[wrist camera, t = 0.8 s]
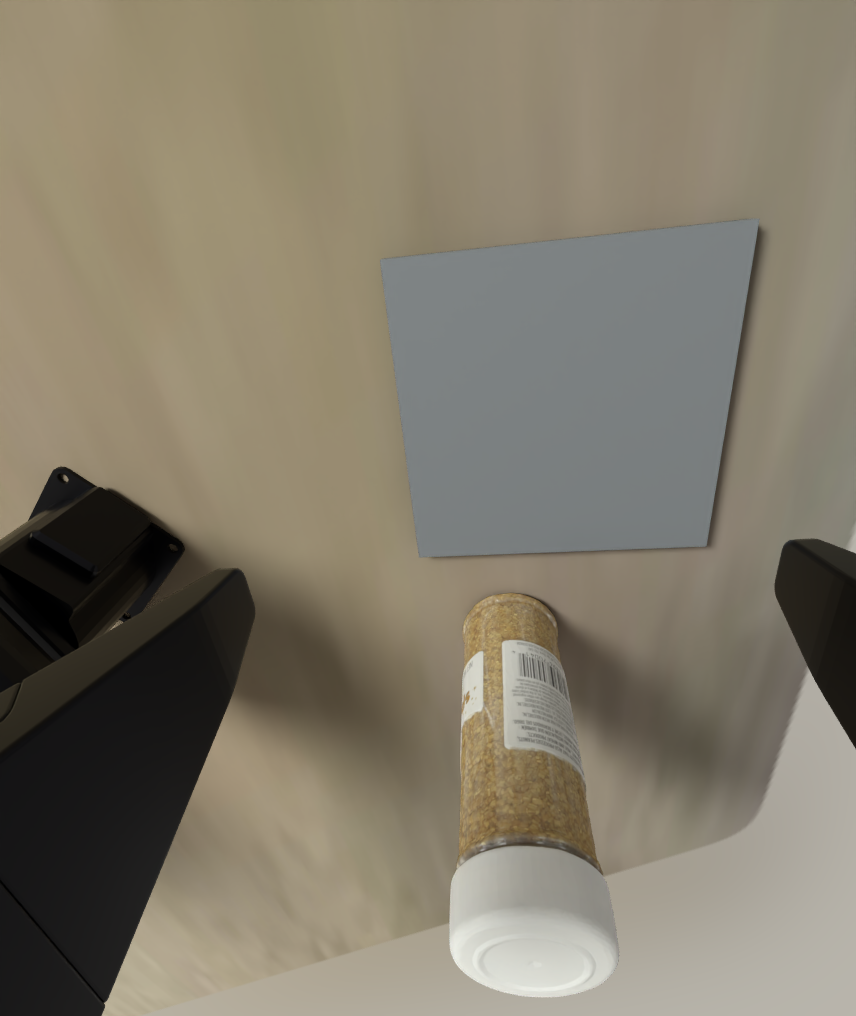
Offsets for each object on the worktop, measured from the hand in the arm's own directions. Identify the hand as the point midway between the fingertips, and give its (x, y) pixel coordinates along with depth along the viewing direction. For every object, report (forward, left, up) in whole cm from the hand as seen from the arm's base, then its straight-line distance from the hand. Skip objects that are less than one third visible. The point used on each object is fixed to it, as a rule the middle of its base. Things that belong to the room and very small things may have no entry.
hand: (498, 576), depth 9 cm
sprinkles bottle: (-8, -9, -13) cm, 18 cm away
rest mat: (+1, -3, -13) cm, 13 cm away
